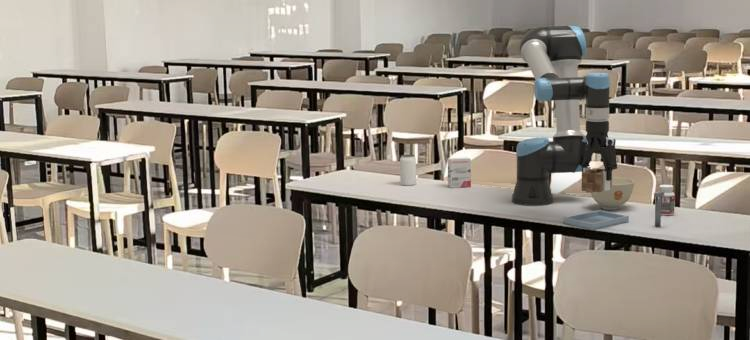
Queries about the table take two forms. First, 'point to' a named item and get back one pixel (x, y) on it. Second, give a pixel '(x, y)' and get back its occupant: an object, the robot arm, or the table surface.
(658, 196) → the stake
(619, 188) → the bowl
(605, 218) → the tray
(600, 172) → the brown wooden hollow block
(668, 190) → the pill bottle
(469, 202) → the table surface
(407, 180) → the can
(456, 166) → the ink box
